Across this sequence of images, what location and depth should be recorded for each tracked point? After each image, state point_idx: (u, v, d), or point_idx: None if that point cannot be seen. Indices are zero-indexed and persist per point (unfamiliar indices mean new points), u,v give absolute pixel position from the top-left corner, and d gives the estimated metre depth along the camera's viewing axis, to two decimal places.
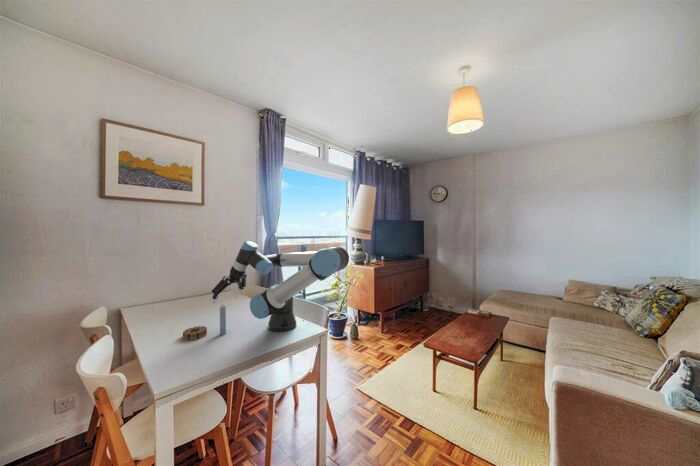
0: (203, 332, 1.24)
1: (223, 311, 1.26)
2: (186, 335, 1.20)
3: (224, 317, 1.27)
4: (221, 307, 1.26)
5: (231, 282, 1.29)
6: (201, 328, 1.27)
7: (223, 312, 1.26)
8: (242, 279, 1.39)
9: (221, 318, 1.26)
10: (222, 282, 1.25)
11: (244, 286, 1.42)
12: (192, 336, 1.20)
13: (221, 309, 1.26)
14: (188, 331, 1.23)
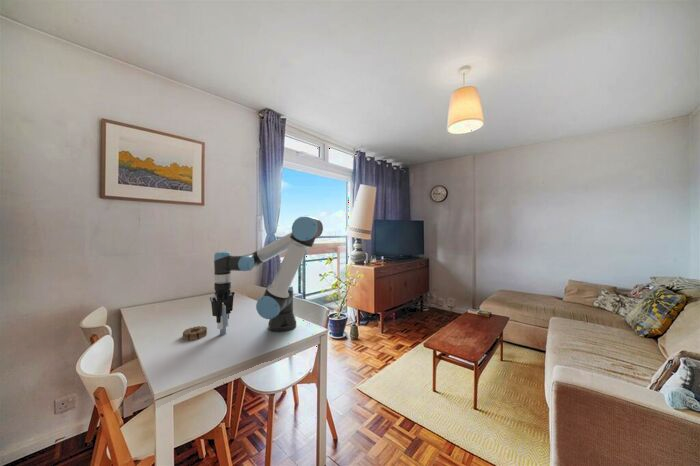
0: (203, 332, 1.24)
1: (223, 311, 1.26)
2: (186, 335, 1.20)
3: (224, 317, 1.27)
4: None
5: (221, 299, 1.25)
6: (201, 328, 1.27)
7: (223, 312, 1.26)
8: (229, 299, 1.31)
9: None
10: (213, 303, 1.22)
11: (231, 309, 1.31)
12: (192, 336, 1.20)
13: None
14: (188, 331, 1.23)
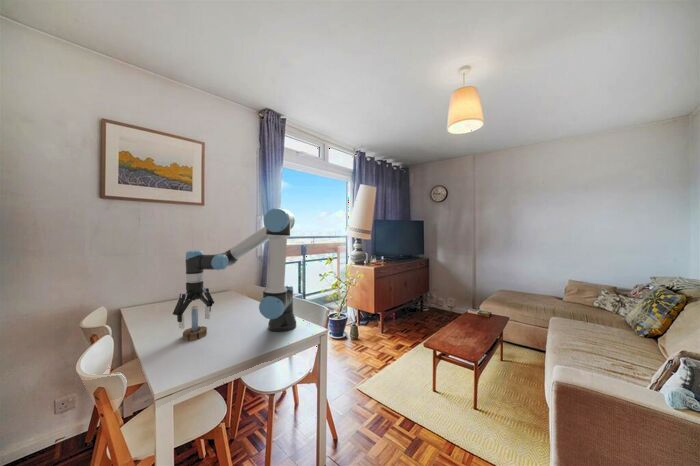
0: (203, 332, 1.24)
1: (195, 313, 1.24)
2: (186, 335, 1.20)
3: (196, 319, 1.24)
4: (193, 309, 1.24)
5: (191, 298, 1.21)
6: (201, 328, 1.27)
7: (195, 314, 1.24)
8: (206, 295, 1.31)
9: (193, 320, 1.24)
10: (180, 300, 1.18)
11: (212, 302, 1.33)
12: (192, 336, 1.20)
13: (193, 311, 1.23)
14: (188, 331, 1.23)
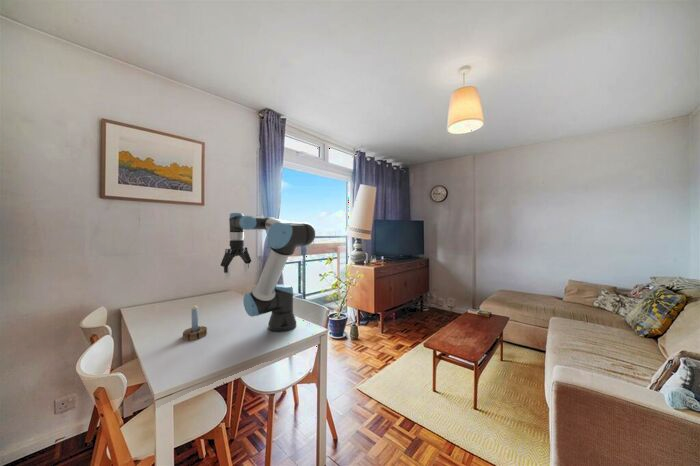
0: (203, 332, 1.24)
1: (195, 313, 1.24)
2: (186, 335, 1.20)
3: (196, 319, 1.24)
4: (193, 309, 1.24)
5: (235, 253, 1.40)
6: (201, 328, 1.27)
7: (195, 314, 1.24)
8: (245, 254, 1.49)
9: (193, 320, 1.24)
10: (226, 254, 1.36)
11: (250, 261, 1.51)
12: (192, 336, 1.20)
13: (193, 311, 1.23)
14: (188, 331, 1.23)
